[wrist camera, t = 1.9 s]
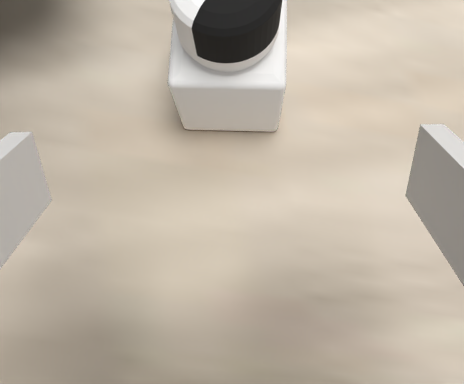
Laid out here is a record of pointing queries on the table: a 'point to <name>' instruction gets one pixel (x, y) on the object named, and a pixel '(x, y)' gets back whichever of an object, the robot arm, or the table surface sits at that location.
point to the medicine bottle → (228, 63)
